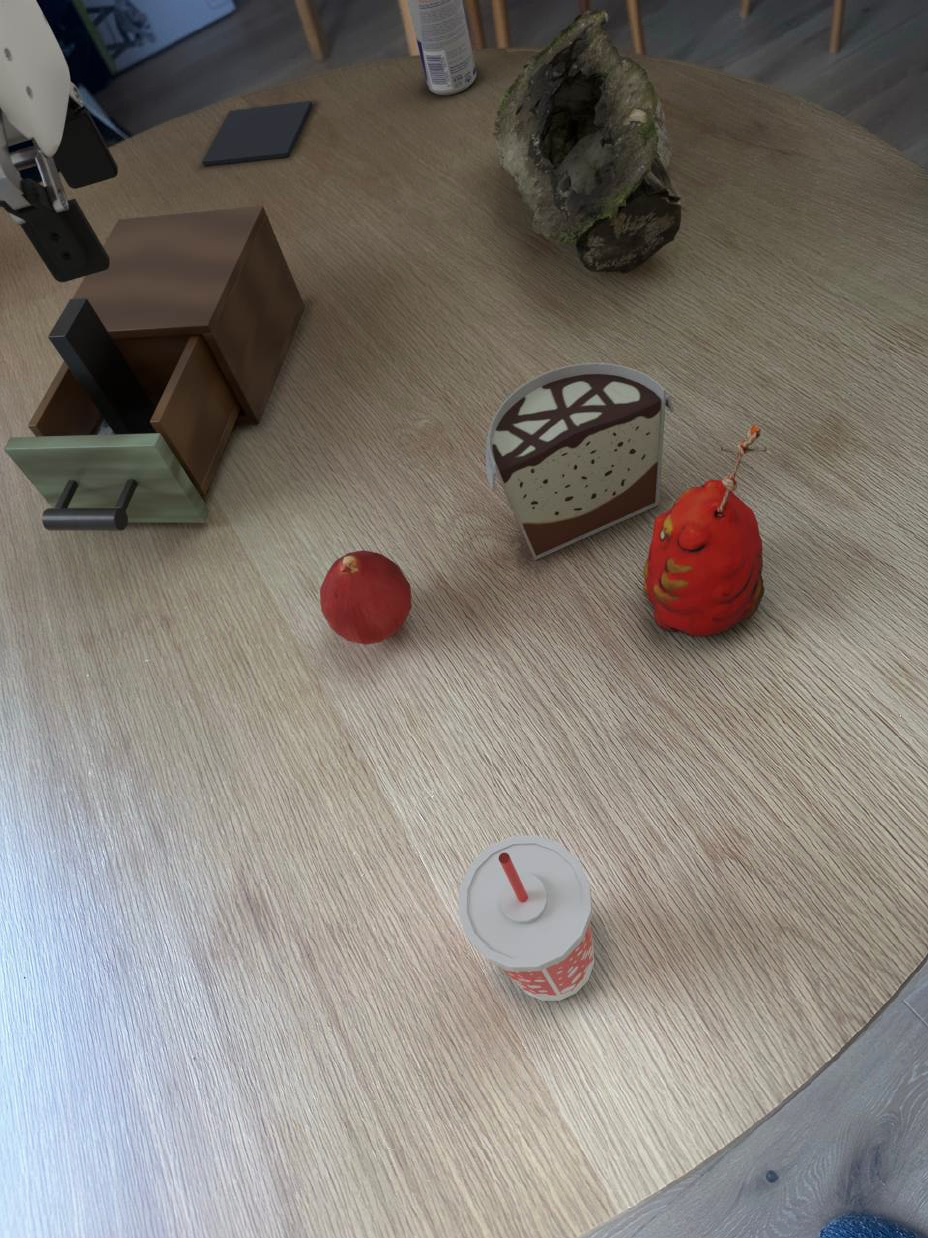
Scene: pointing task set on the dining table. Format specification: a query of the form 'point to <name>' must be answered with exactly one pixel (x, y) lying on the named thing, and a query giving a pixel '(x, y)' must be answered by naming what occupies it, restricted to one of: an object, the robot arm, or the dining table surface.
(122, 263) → the cabinet
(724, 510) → the red clay folk toy
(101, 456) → the drawer
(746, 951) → the dining table surface
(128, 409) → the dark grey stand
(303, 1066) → the dining table surface
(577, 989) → the beverage cup
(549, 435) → the food container
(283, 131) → the desk mat
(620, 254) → the mossy hollow log
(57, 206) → the robot arm
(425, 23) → the energy drink
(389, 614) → the onion
